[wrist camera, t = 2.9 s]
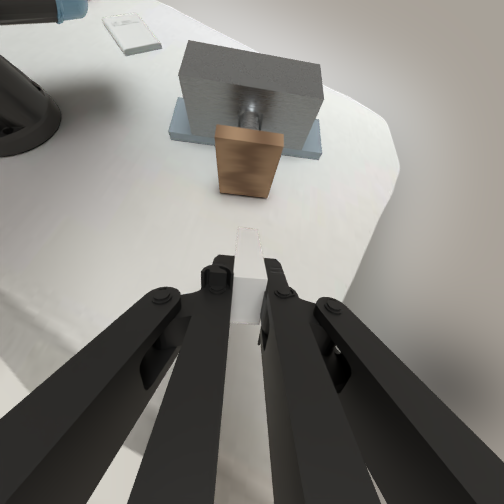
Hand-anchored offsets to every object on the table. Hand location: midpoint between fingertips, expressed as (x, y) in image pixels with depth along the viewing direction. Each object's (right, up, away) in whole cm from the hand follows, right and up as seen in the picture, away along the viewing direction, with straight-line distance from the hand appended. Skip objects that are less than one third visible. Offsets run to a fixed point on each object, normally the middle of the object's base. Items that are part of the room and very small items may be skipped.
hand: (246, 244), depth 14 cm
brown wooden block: (-1, +14, +18) cm, 23 cm away
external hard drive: (-27, +48, +27) cm, 61 cm away
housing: (0, +23, +21) cm, 31 cm away
